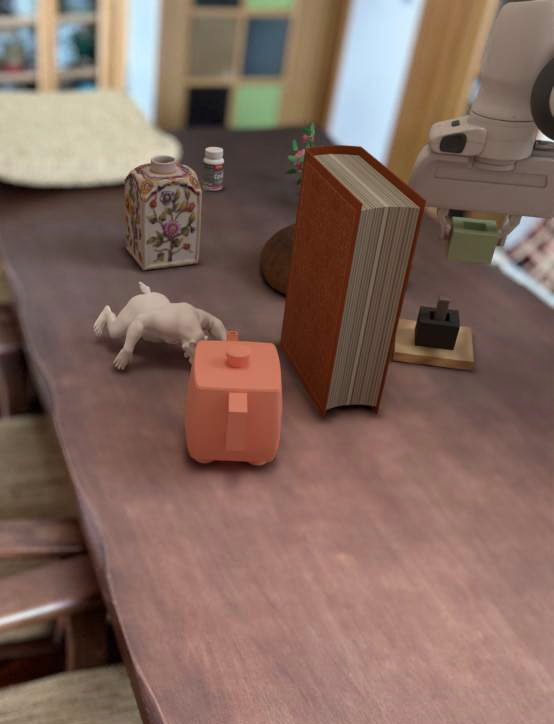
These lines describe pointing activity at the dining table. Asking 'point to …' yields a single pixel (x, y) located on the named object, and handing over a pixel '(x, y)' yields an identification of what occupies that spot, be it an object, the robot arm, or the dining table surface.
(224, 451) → the teapot
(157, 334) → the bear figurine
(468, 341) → the base board
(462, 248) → the green hollow square block
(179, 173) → the decorative jar
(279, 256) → the bread
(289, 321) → the book
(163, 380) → the dining table surface
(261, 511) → the dining table surface
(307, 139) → the flower vase
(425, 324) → the black hollow square block
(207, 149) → the pill bottle
